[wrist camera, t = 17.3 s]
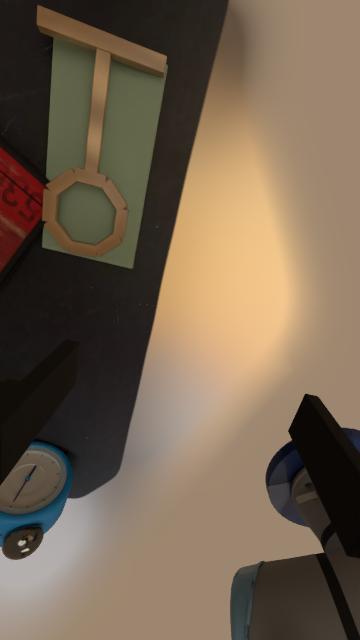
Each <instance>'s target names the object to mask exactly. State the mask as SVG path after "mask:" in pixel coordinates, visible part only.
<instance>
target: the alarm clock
mask: <svg viewBox="0 0 360 640" xmlns="http://www.w3.org/2000/svg"><path fill="white" fill-rule="evenodd" d="M67 453H68V451H66V452H64V453H63V452H62V451H61V450H60V449H59V448H57V447H55V446H53V445H50V444H47V443H43V442H32V443H31V445H30V446H29V448H28V449H27V450H26V452H25V453H24V454H23V456H22V457H21V458H20V460H19V461H18V463H17V464H16V465H15V467H14V468H13V469H12V471H11V472H10V473H9V475H8V476H7V478H6V479H5V480H4V482H3V483H2V484H1V486H0V547H2V551H3V554H4V555H5V556H6V557H7V558H9V559H13V560H18V559H22V558H25V557H27V556H29V555H30V554H32V553H33V552H34V551H35V550H36V549H37V548H38V547H39V545H40V544H41V542H42V539H43V534H44V533H46V532H47V531H48V530H49V529H50V528H51V527H52V526H53V525H54V524H55V522H56V521H57V520H58V518H59V517H60V515H61V513H62V511H63V508H64V505H65V503H66V500H67V497H68V494H69V491H70V488H71V485H72V481H73V469H72V465H71V463H70V460H69V459H68V457H67V456H66V454H67Z"/></svg>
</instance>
